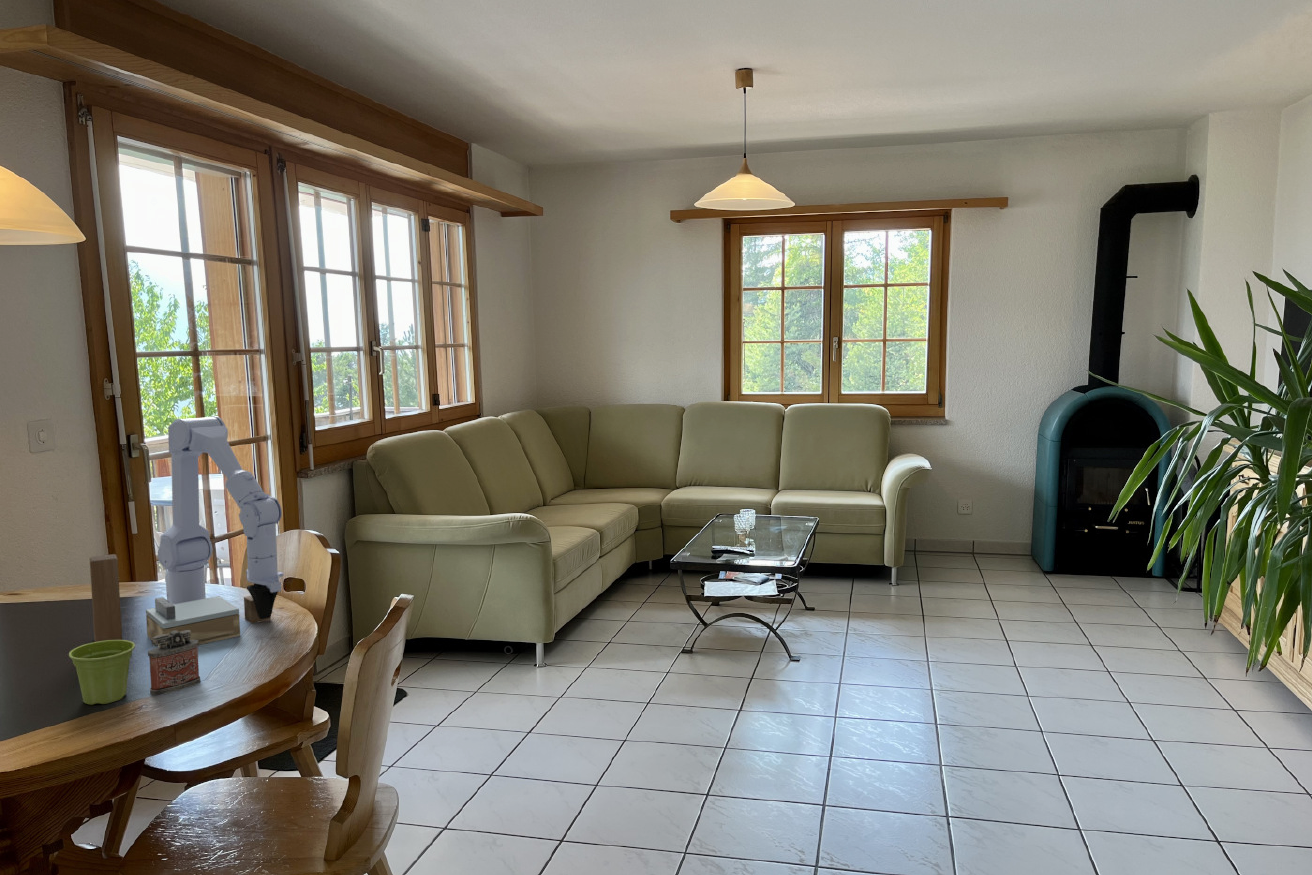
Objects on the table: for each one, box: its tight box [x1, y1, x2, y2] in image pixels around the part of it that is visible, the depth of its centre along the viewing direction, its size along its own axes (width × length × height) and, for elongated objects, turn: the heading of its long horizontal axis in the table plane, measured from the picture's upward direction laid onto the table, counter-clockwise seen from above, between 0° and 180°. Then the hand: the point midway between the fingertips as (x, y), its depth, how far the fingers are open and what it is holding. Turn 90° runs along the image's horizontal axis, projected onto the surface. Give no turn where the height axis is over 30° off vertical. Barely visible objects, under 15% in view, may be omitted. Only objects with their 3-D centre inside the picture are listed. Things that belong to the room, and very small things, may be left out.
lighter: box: [147, 630, 201, 696], centre depth 152 cm, size 8×3×10 cm, turn 141°
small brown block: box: [243, 595, 272, 625], centre depth 189 cm, size 4×4×5 cm
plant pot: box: [68, 639, 136, 706], centre depth 147 cm, size 9×9×9 cm
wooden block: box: [89, 553, 123, 642], centre depth 173 cm, size 9×4×18 cm, turn 34°
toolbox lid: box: [145, 595, 240, 629], centre depth 177 cm, size 12×14×4 cm
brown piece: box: [145, 613, 241, 647], centre depth 178 cm, size 12×14×4 cm
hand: (264, 617), depth 186 cm, fingers closed
